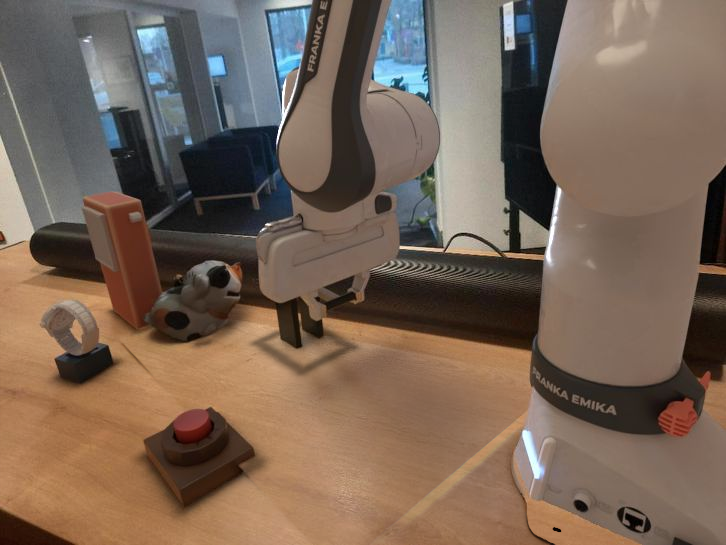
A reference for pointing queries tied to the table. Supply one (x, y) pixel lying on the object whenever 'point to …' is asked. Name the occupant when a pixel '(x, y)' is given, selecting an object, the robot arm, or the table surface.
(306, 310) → the bracket
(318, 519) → the table surface
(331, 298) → the lever
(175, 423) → the button
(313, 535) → the table surface
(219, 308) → the lucky cat figurine
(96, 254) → the control panel
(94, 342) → the watch
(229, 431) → the button box
